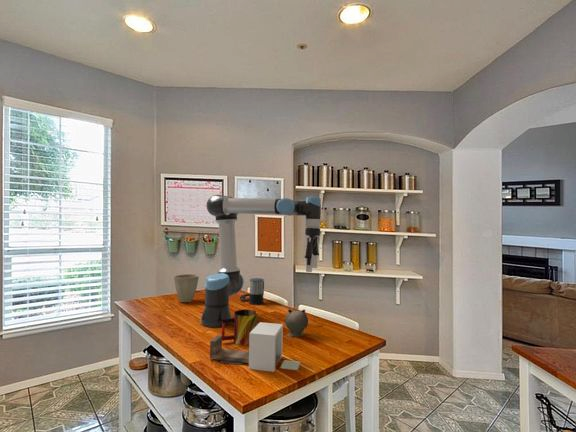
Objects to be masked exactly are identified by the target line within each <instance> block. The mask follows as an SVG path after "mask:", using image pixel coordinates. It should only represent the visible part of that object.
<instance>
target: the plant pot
mask: <svg viewBox="0 0 576 432" xmlns="http://www.w3.org/2000/svg"><path fill="white" fill-rule="evenodd" d="M199 277H200V275H198V274H193V273H191V274H190V273H185V274H183V273H182V274H177V275H174V276H173V278H174V279H173V280H174V286H175V291H176V292H175V293H176V295H177V298H178V300H179V303H182V302H188V303H191V301H192V302H193V299H194V297H195V294H196V291H197V287H198V283H199Z"/></svg>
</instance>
